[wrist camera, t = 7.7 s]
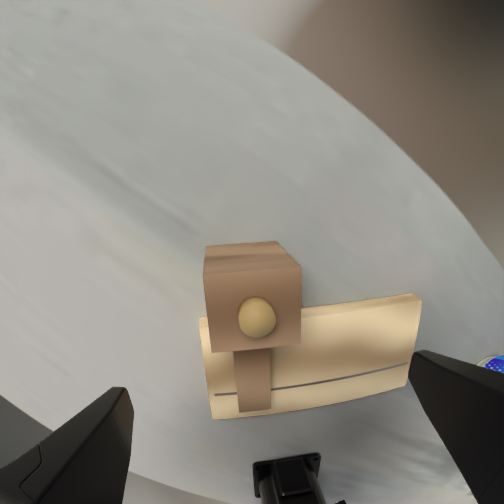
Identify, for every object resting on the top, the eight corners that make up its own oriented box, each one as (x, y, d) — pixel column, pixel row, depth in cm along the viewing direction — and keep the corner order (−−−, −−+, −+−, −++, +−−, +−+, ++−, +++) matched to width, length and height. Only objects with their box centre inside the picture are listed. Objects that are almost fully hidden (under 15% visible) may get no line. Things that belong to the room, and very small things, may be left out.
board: (397, 376, 24) (405, 385, 23) (212, 407, 22) (212, 419, 21) (412, 292, 22) (422, 299, 21) (200, 317, 21) (199, 327, 19)
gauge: (279, 383, 23) (301, 448, 16) (221, 389, 22) (226, 457, 15) (276, 240, 20) (307, 273, 13) (205, 246, 20) (201, 281, 13)
